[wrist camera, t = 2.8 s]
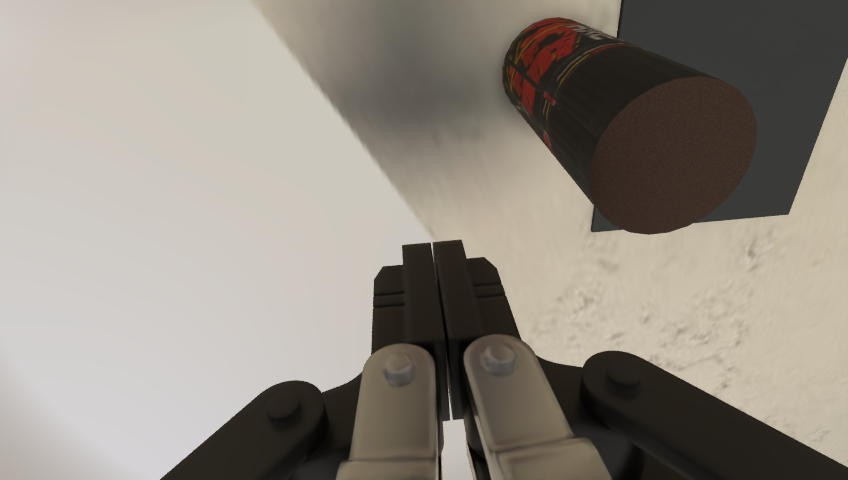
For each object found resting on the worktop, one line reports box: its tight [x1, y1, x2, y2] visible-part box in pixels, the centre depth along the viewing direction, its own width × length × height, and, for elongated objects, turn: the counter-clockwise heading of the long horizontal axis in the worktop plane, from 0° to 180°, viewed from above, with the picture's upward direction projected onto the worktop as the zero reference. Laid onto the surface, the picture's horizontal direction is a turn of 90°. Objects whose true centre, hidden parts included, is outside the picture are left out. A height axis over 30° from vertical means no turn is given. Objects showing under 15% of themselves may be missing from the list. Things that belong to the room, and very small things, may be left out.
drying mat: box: [591, 0, 848, 232], centre depth 31 cm, size 20×15×1 cm
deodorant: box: [503, 17, 757, 235], centre depth 23 cm, size 6×6×15 cm
